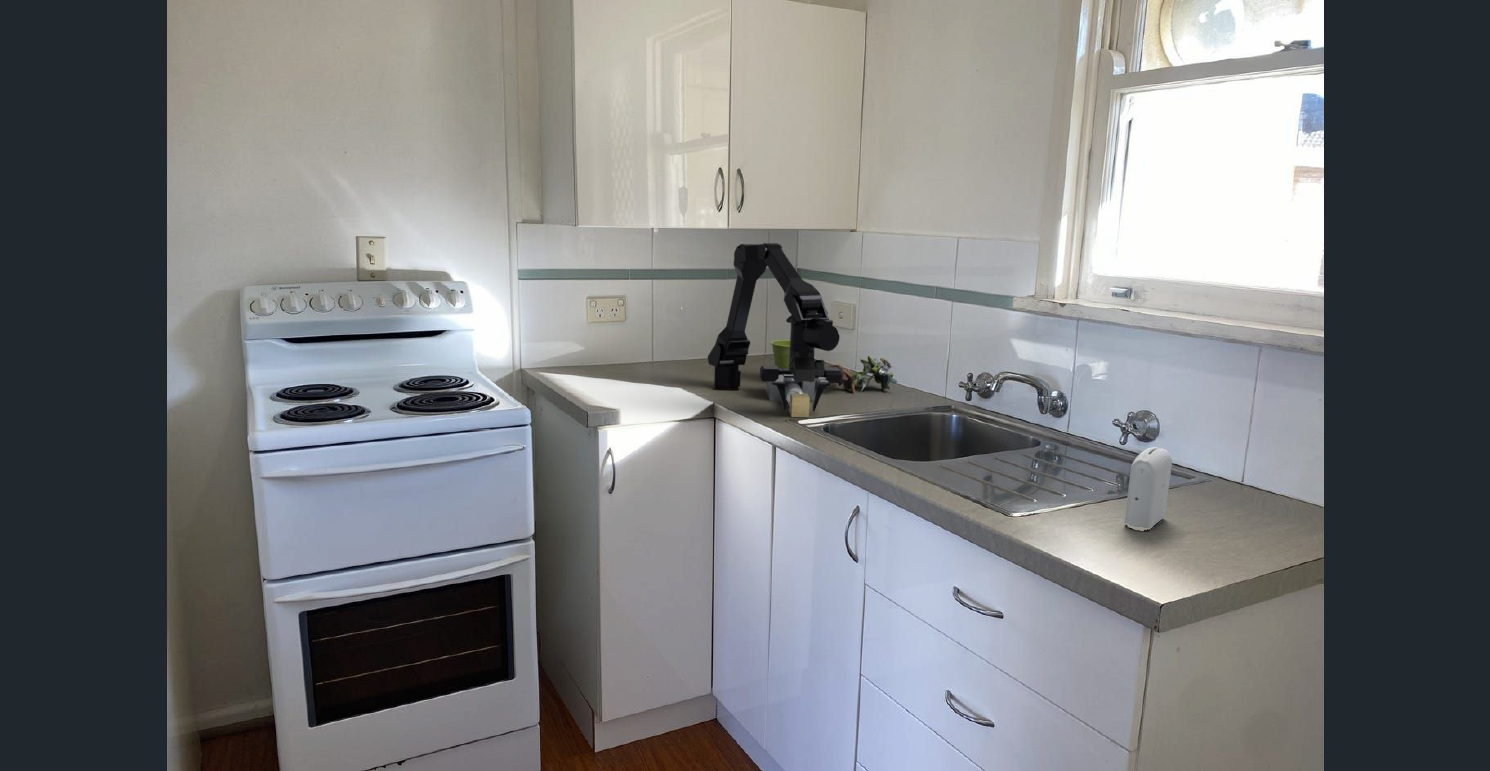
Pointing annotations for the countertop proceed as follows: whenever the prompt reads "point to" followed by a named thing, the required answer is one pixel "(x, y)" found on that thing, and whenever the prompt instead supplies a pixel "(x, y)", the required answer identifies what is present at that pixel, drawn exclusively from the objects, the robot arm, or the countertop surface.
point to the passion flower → (874, 373)
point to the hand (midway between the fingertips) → (799, 410)
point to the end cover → (797, 401)
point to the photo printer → (1148, 488)
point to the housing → (773, 390)
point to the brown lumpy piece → (844, 379)
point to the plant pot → (781, 353)
